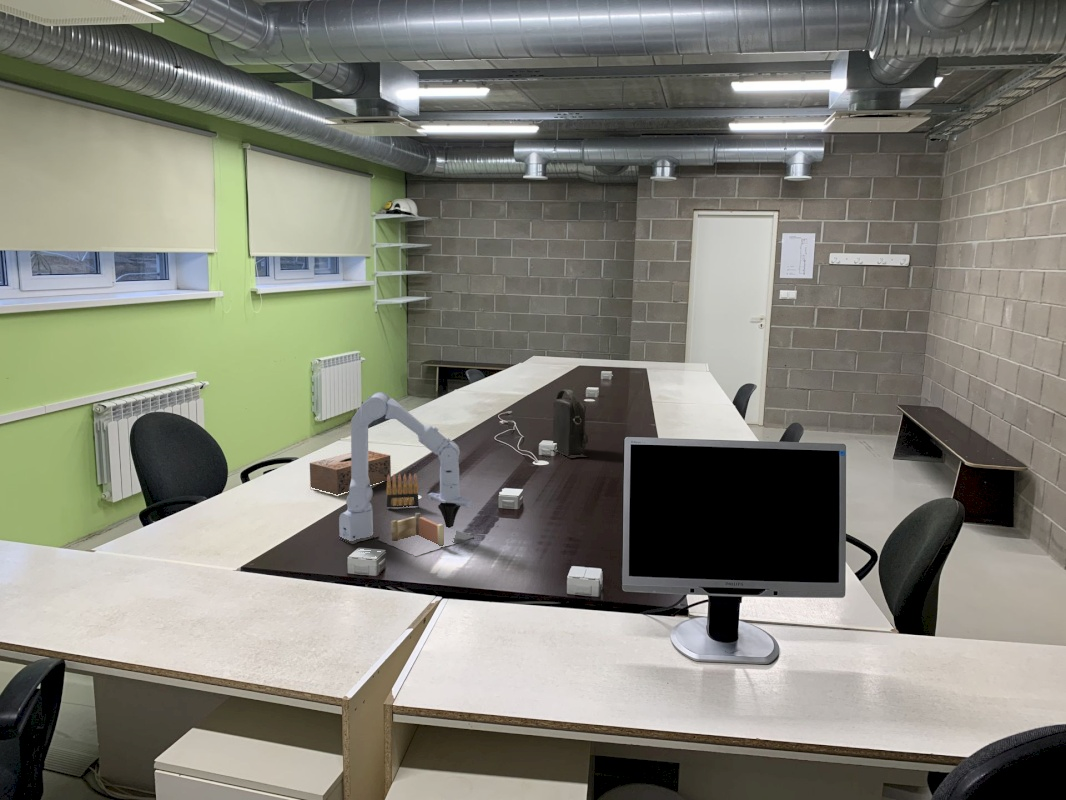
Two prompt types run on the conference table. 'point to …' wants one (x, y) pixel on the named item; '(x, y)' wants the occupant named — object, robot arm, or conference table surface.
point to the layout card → (461, 537)
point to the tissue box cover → (346, 472)
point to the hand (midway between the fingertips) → (449, 526)
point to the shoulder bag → (569, 424)
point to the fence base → (405, 528)
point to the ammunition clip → (405, 498)
